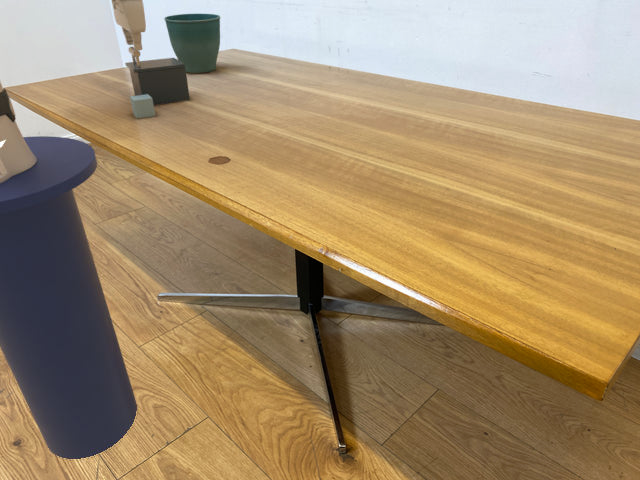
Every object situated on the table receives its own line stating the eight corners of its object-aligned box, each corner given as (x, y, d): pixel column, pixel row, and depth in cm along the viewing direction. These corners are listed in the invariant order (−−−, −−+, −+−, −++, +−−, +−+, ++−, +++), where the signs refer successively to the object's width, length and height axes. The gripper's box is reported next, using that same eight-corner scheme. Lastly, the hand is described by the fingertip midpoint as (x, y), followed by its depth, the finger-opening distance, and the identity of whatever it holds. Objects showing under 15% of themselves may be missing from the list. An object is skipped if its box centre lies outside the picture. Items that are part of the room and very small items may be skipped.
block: (137, 118, 121) (133, 100, 118) (133, 114, 124) (129, 96, 122) (155, 115, 122) (152, 98, 120) (151, 111, 126) (147, 94, 123)
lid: (134, 73, 125) (130, 52, 122) (125, 65, 133) (121, 46, 130) (185, 67, 130) (182, 47, 128) (174, 60, 138) (171, 41, 136)
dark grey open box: (144, 106, 130) (137, 72, 125) (135, 97, 137) (128, 65, 133) (190, 100, 135) (185, 67, 130) (179, 91, 143) (174, 60, 138)
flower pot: (227, 74, 162) (221, 19, 154) (171, 77, 159) (162, 21, 150) (224, 63, 177) (218, 12, 169) (173, 66, 174) (165, 14, 165)
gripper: (101, -14, 126) (114, 42, 133) (116, -9, 111) (130, 54, 118) (126, -16, 129) (138, 40, 136) (144, -11, 113) (156, 51, 121)
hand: (134, 47), depth 127 cm, fingers open, 8 cm apart
